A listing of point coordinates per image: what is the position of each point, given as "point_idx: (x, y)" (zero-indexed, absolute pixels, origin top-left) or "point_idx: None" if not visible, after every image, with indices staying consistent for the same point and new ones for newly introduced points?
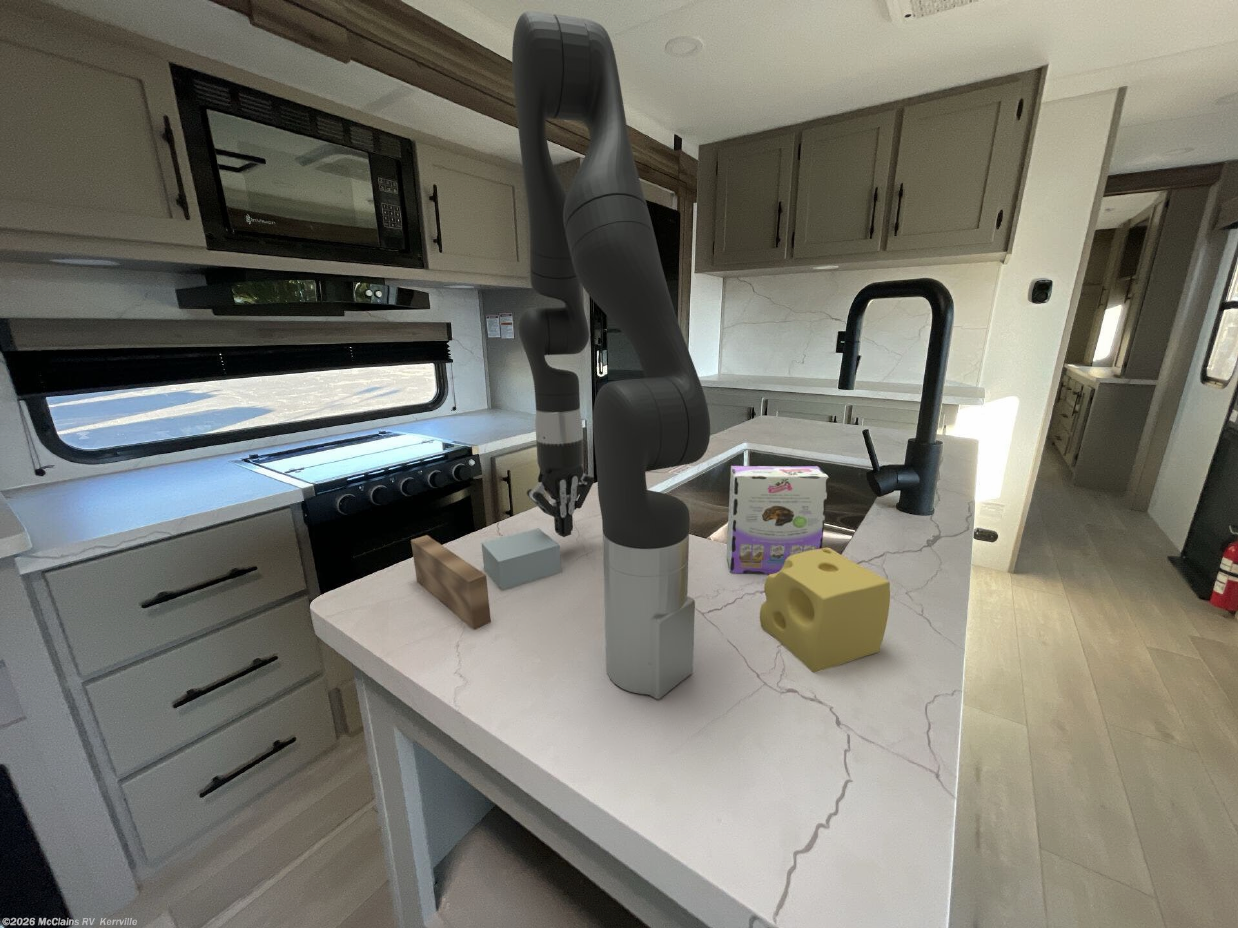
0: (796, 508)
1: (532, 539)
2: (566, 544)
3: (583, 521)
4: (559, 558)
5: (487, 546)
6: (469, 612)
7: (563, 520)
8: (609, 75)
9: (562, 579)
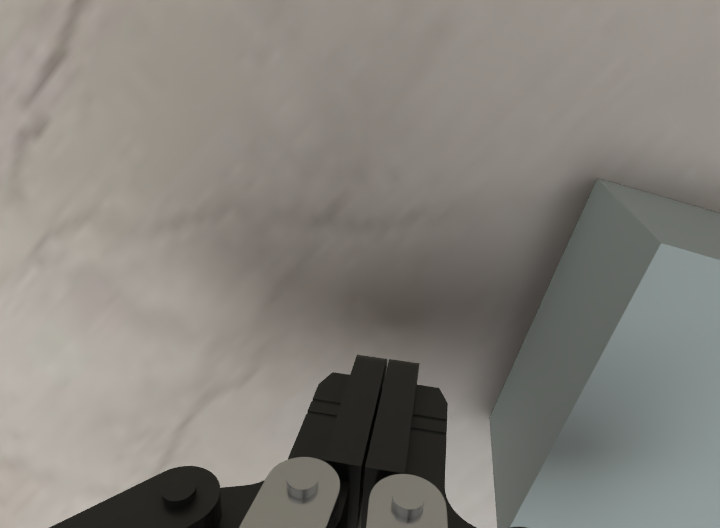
0: None
1: (692, 474)
2: None
3: (97, 472)
4: (629, 208)
5: None
6: None
7: (407, 456)
8: None
9: (676, 96)
